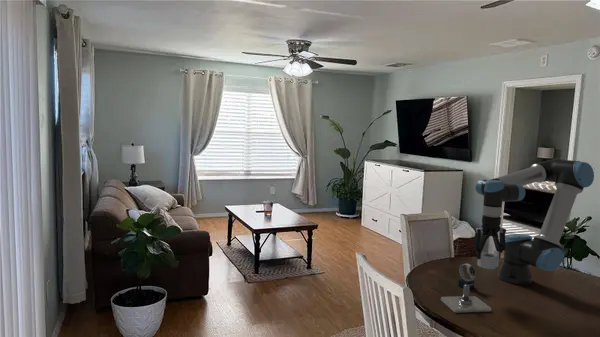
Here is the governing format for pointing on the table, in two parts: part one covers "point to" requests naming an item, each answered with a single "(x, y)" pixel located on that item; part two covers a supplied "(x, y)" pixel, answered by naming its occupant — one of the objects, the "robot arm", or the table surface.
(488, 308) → the block
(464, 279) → the watch
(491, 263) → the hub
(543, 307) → the table surface
